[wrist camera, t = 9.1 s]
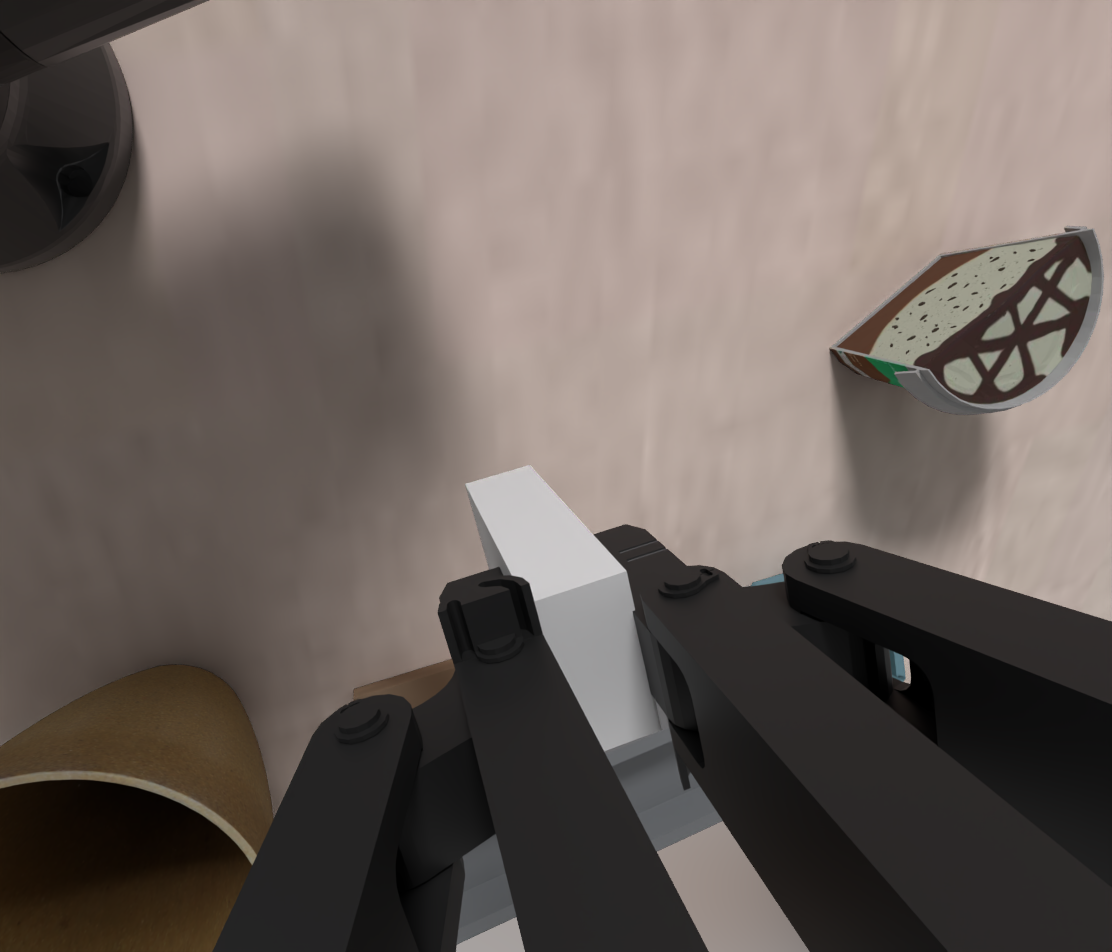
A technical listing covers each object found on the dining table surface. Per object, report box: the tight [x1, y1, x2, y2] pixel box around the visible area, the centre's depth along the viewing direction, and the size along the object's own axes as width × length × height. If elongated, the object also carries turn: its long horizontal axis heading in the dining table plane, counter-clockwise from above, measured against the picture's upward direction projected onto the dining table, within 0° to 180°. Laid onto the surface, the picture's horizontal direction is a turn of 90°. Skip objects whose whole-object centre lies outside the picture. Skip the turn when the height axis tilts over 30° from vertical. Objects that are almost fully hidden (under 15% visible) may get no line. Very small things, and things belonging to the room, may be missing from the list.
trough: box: [457, 700, 723, 944], centre depth 41 cm, size 22×12×5 cm, turn 102°
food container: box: [829, 226, 1104, 415], centre depth 44 cm, size 12×6×10 cm, turn 128°
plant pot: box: [0, 665, 273, 952], centre depth 36 cm, size 15×15×16 cm
